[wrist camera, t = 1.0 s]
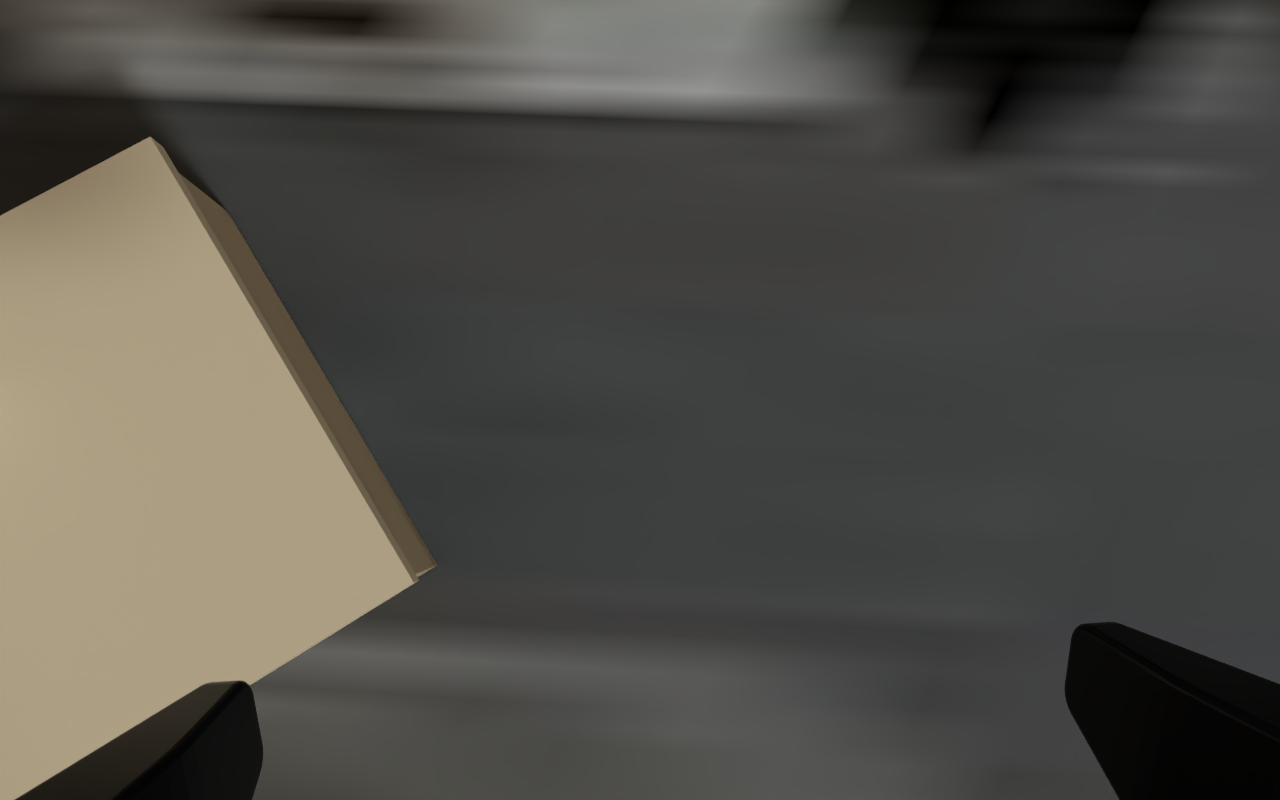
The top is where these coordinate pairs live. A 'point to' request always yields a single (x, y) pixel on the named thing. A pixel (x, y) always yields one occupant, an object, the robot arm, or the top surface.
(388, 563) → the carton lid
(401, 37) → the top surface
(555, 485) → the top surface
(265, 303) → the carton
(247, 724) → the robot arm
